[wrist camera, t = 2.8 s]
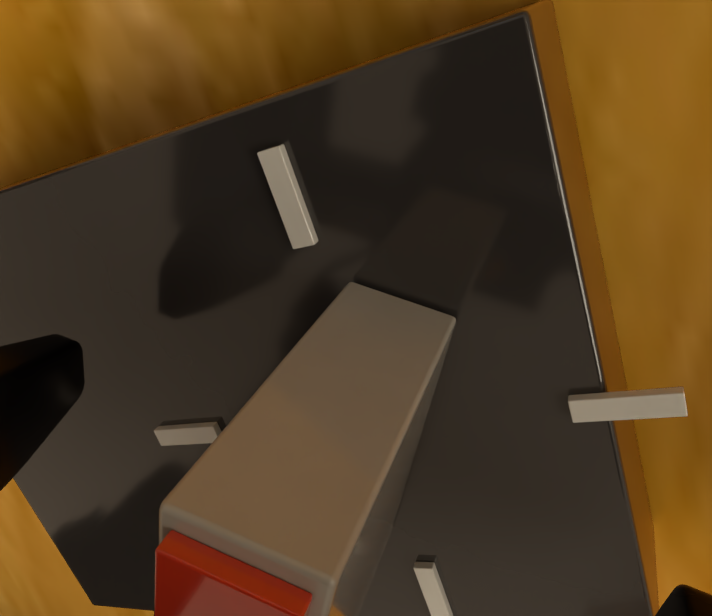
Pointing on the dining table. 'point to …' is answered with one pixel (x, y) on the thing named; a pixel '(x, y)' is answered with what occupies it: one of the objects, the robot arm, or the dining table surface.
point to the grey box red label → (306, 469)
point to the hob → (318, 290)
